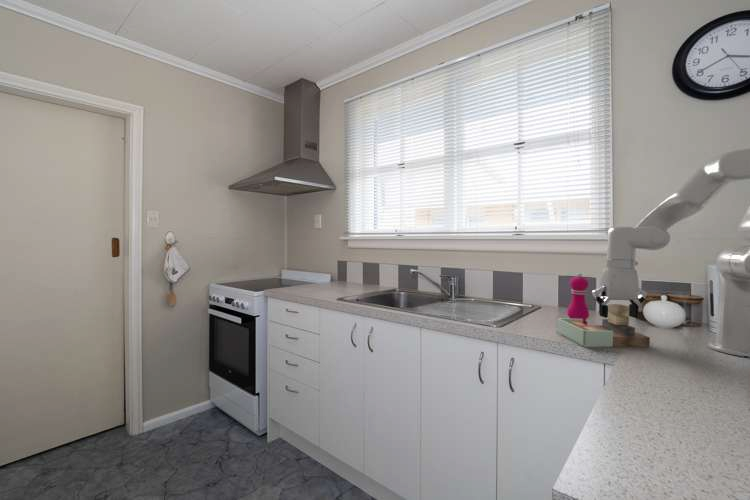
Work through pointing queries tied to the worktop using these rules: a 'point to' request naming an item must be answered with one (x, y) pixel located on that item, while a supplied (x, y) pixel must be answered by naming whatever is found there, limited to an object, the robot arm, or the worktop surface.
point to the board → (625, 338)
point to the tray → (584, 334)
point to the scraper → (618, 320)
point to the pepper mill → (578, 299)
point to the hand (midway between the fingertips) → (618, 316)
